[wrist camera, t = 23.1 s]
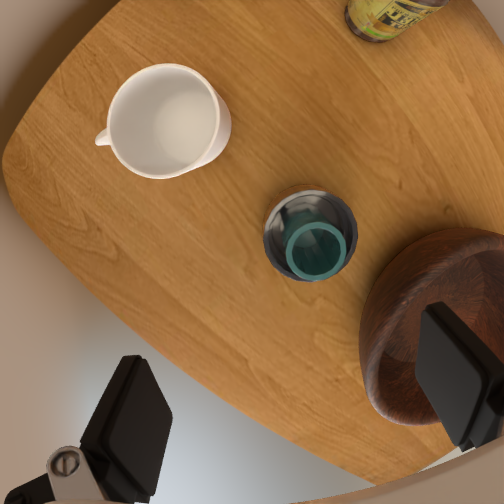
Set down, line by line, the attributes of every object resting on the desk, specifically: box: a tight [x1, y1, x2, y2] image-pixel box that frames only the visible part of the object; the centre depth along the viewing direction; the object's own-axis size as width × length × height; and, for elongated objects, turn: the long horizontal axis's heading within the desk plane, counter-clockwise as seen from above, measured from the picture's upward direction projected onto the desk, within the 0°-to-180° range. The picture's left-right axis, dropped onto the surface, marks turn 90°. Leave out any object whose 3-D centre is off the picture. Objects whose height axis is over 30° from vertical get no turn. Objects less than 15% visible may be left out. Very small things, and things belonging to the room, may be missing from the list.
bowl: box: [263, 184, 358, 282], centre depth 32 cm, size 9×9×4 cm
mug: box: [95, 63, 232, 179], centre depth 26 cm, size 9×12×11 cm
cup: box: [280, 204, 347, 281], centre depth 29 cm, size 5×5×8 cm
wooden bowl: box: [359, 228, 504, 426], centre depth 32 cm, size 25×25×10 cm
